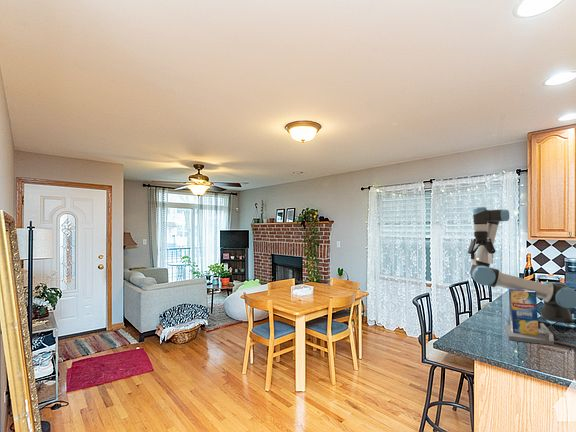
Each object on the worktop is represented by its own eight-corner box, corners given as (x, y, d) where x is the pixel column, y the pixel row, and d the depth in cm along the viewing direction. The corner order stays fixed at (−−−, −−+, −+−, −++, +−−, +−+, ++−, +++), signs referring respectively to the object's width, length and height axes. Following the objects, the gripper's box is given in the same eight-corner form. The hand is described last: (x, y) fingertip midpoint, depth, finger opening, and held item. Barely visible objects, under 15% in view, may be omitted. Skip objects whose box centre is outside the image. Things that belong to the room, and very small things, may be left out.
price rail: (540, 328, 173) (539, 323, 174) (543, 329, 173) (543, 323, 173) (549, 340, 154) (549, 334, 154) (553, 341, 154) (553, 334, 154)
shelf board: (504, 328, 181) (504, 324, 181) (543, 332, 173) (543, 329, 173) (508, 339, 162) (508, 335, 162) (553, 345, 153) (553, 341, 154)
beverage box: (538, 335, 162) (536, 291, 164) (512, 332, 167) (510, 290, 169) (535, 331, 168) (533, 289, 170) (510, 329, 173) (508, 288, 175)
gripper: (490, 230, 213) (492, 262, 211) (460, 231, 206) (462, 264, 204) (501, 230, 205) (502, 263, 204) (470, 231, 199) (471, 265, 197)
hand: (482, 264), depth 204 cm, fingers open, 13 cm apart
